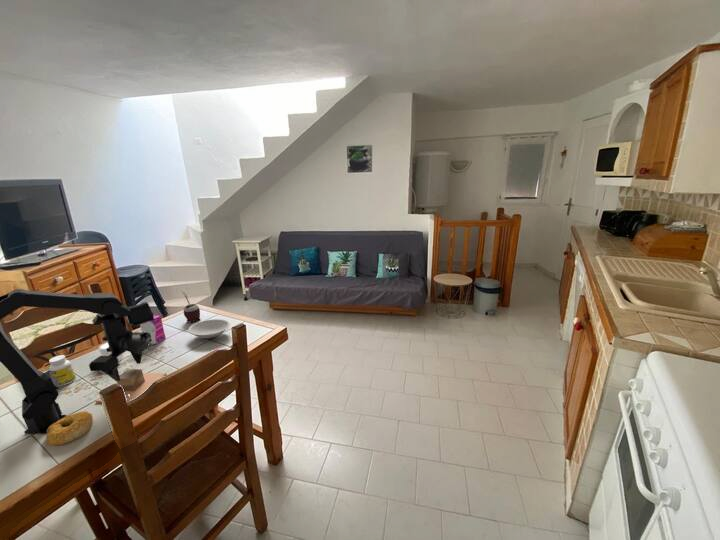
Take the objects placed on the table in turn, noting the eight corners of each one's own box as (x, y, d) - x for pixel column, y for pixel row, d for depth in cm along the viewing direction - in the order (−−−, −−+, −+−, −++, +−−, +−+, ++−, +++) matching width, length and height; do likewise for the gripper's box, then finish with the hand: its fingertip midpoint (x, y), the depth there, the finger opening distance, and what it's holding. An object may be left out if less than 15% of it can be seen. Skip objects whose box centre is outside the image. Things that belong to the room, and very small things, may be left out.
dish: (237, 329, 141) (235, 319, 139) (221, 345, 127) (219, 335, 126) (202, 327, 142) (200, 318, 141) (182, 344, 129) (180, 334, 127)
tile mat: (138, 403, 96) (137, 401, 96) (96, 402, 96) (95, 400, 96) (166, 374, 109) (165, 373, 109) (129, 374, 110) (128, 372, 109)
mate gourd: (198, 323, 147) (192, 295, 142) (181, 324, 146) (174, 296, 141) (203, 316, 154) (198, 289, 149) (187, 317, 153) (181, 290, 148)
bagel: (83, 413, 92) (78, 401, 91) (102, 426, 88) (97, 413, 86) (40, 438, 84) (34, 425, 82) (58, 454, 79) (51, 440, 78)
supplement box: (155, 345, 128) (148, 321, 125) (144, 343, 130) (137, 320, 126) (166, 338, 134) (160, 315, 130) (156, 336, 135) (150, 314, 131)
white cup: (113, 366, 115) (108, 350, 113) (98, 364, 116) (93, 348, 114) (129, 355, 121) (125, 340, 119) (115, 354, 122) (111, 339, 120)
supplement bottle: (51, 388, 103) (41, 364, 100) (61, 378, 108) (52, 355, 105) (70, 385, 105) (61, 361, 102) (79, 375, 110) (71, 352, 107)
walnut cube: (134, 391, 100) (130, 378, 99) (119, 391, 100) (115, 378, 99) (145, 381, 105) (141, 369, 103) (131, 381, 105) (127, 369, 103)
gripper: (117, 347, 87) (131, 391, 92) (160, 317, 105) (169, 355, 109) (80, 347, 87) (96, 391, 92) (129, 317, 105) (140, 355, 110)
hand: (128, 371), depth 101 cm, fingers open, 9 cm apart
